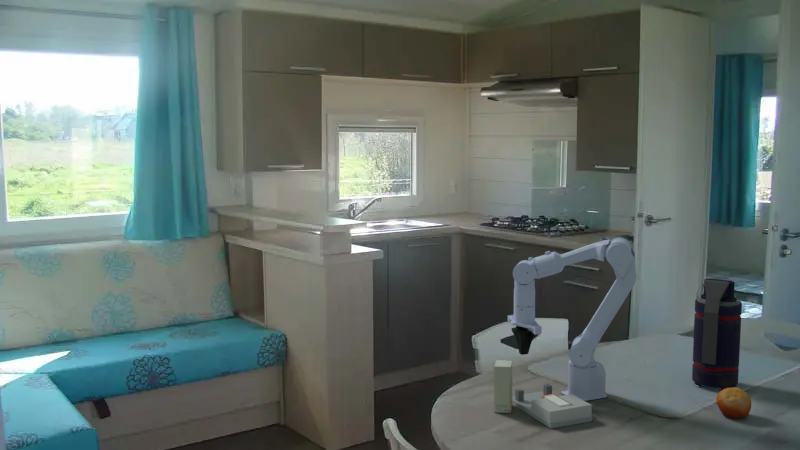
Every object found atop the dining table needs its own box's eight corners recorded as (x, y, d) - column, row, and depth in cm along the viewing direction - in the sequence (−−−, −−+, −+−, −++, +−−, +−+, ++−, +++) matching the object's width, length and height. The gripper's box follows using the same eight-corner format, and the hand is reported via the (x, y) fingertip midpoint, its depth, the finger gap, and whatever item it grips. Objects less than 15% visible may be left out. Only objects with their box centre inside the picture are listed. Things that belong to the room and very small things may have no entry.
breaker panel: (545, 394, 213) (546, 379, 212) (592, 421, 193) (592, 405, 193) (507, 400, 208) (507, 385, 208) (550, 428, 189) (550, 412, 188)
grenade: (698, 375, 227) (702, 273, 223) (742, 383, 220) (747, 278, 216) (684, 389, 216) (688, 281, 212) (730, 397, 209) (735, 286, 205)
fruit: (748, 404, 200) (751, 383, 195) (750, 429, 194) (753, 408, 189) (714, 400, 203) (716, 380, 198) (715, 425, 197) (717, 404, 192)
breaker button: (552, 404, 202) (553, 393, 201) (570, 414, 194) (570, 403, 194) (541, 406, 200) (541, 395, 200) (558, 416, 193) (558, 405, 193)
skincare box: (511, 413, 199) (511, 367, 197) (493, 412, 200) (493, 366, 198) (512, 405, 205) (512, 360, 203) (495, 404, 206) (495, 359, 204)
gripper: (498, 300, 218) (497, 348, 220) (525, 312, 205) (524, 362, 206) (520, 298, 221) (519, 345, 222) (548, 309, 207) (547, 359, 209)
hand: (523, 353), depth 214 cm, fingers closed
